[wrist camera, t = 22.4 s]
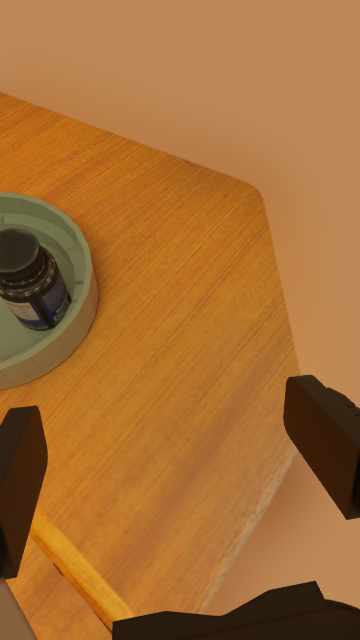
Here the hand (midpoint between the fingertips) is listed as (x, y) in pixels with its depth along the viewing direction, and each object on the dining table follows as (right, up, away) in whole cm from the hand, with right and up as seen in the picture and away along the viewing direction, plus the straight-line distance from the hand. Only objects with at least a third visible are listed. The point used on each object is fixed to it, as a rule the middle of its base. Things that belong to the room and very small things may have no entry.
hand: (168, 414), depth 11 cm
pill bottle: (-15, +4, +28) cm, 32 cm away
